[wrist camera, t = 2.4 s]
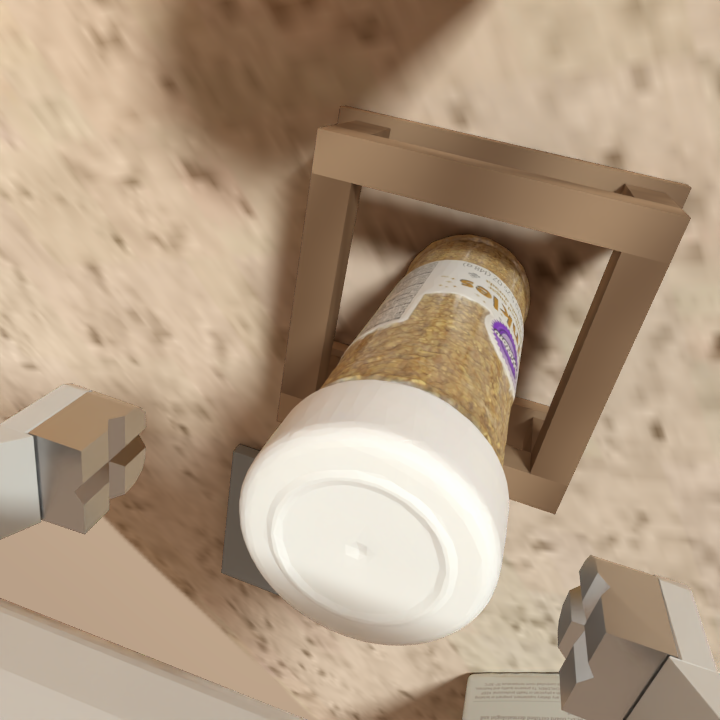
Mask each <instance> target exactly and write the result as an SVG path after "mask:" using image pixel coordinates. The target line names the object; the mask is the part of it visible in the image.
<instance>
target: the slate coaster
mask: <svg viewBox="0 0 720 720" xmlns="http://www.w3.org/2000/svg"><path fill="white" fill-rule="evenodd" d="M259 452H260V451H258V450H255V449H252V448H249V447H246V446H244V445H241V444H239V445H238V446H237V448H236V449H235V450H234V451H233V460H232V470H231V480H230V490H229V500H228V510H227V520H226V530H225V540H224V550H223V560H222V570H221V573H223V574H226V575H228V576H231V577H233V578H236V579H238V580H241V581H244V582H246V583H249V584H251V585H254V586H256V587H259V588H261V589H264V590H267V591H269V592H272V593H274V594H277V595H279V594H278V593H277V592H276V591H275V590H274V589H273V588H272V587H271V586H270V585H269V583H268V582H267V581H266V580H265V579H264V577H263V576H262V574H261V573H260V571H259V570H258V569H257V567H256V565H255V563H254V561H253V560H252V558H251V556H250V553H249V551H248V549H247V546H246V544H245V541H244V539H243V535H242V531H241V527H240V514H239V500H240V494H241V488H242V484H243V482H244V479H245V476H246V474H247V471H248V469H249V468H250V466H251V464H252V463H253V461H254V459H255V458H256V456H257V455H258V454H259ZM279 596H280V595H279Z"/></svg>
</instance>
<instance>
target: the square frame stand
mask: <svg viewBox="0 0 720 720" xmlns="http://www.w3.org/2000/svg"><path fill="white" fill-rule="evenodd" d="M362 186H365V187H369V188H373V189H377V190H381V191H385V192H388V193H392V194H396V195H400V196H404V197H408V198H412V199H416V200H420V201H424V202H428V203H432V204H436V205H439V206H443V207H447V208H451V209H455V210H459V211H463V212H467V213H471V214H475V215H479V216H483V217H487V218H490V219H494V220H498V221H502V222H506V223H510V224H514V225H518V226H522V227H526V228H530V229H534V230H538V231H541V232H545V233H549V234H553V235H557V236H561V237H565V238H569V239H573V240H577V241H581V242H585V243H589V244H592V245H596V246H600V247H604V248H608V249H612V250H613V252H612V255H611V257H610V260H609V262H608V264H607V267H606V269H605V272H604V274H603V277H602V279H601V282H600V284H599V287H598V289H597V292H596V294H595V297H594V299H593V301H592V304H591V306H590V309H589V311H588V314H587V316H586V319H585V321H584V324H583V326H582V329H581V331H580V334H579V336H578V339H577V341H576V343H575V346H574V348H573V351H572V353H571V356H570V358H569V361H568V363H567V366H566V368H565V371H564V373H563V376H562V378H561V380H560V383H559V385H558V388H557V390H556V393H555V395H554V398H553V400H552V403H551V405H550V407H549V406H546V405H542V404H539V403H536V402H533V401H529V400H526V399H523V398H519V397H516V396H515V398H514V402H513V404H512V406H511V410H510V415H509V422H508V432H507V440H506V445H505V455H504V462H503V471H504V474H505V477H506V481H507V486H508V493H509V499H511V500H514V501H517V502H520V503H523V504H526V505H529V506H532V507H535V508H538V509H541V510H544V511H547V512H550V513H553V514H555V513H556V511H557V509H558V507H559V505H560V502H561V500H562V498H563V496H564V494H565V491H566V489H567V487H568V485H569V483H570V481H571V478H572V476H573V474H574V472H575V470H576V467H577V465H578V463H579V461H580V459H581V457H582V454H583V452H584V450H585V448H586V446H587V443H588V441H589V439H590V437H591V435H592V433H593V430H594V428H595V426H596V424H597V422H598V419H599V417H600V415H601V413H602V411H603V409H604V406H605V404H606V402H607V400H608V398H609V395H610V393H611V391H612V389H613V387H614V385H615V382H616V380H617V378H618V376H619V374H620V371H621V369H622V367H623V365H624V363H625V361H626V358H627V356H628V354H629V352H630V350H631V347H632V345H633V343H634V341H635V339H636V337H637V334H638V332H639V330H640V328H641V326H642V324H643V321H644V319H645V317H646V315H647V313H648V310H649V308H650V306H651V304H652V302H653V300H654V297H655V295H656V293H657V291H658V289H659V286H660V284H661V282H662V280H663V278H664V276H665V273H666V271H667V269H668V267H669V265H670V262H671V260H672V258H673V256H674V254H675V252H676V249H677V247H678V245H679V243H680V241H681V238H682V236H683V234H684V232H685V230H686V228H687V225H688V223H689V221H690V219H691V218H690V217H689V216H688V215H687V214H686V213H685V212H684V211H683V210H682V208H683V206H684V204H685V201H686V199H687V197H688V195H689V192H690V190H691V187H690V186H688V185H686V184H682V183H678V182H673V181H669V180H665V179H660V178H656V177H652V176H647V175H643V174H639V173H634V172H630V171H626V170H621V169H617V168H613V167H609V166H604V165H600V164H596V163H591V162H587V161H583V160H578V159H574V158H570V157H565V156H561V155H557V154H552V153H548V152H544V151H539V150H535V149H531V148H526V147H522V146H518V145H514V144H509V143H505V142H501V141H496V140H492V139H488V138H483V137H479V136H475V135H470V134H466V133H462V132H457V131H453V130H449V129H444V128H440V127H436V126H431V125H427V124H423V123H418V122H414V121H410V120H406V119H401V118H397V117H393V116H388V115H384V114H380V113H375V112H371V111H367V110H362V109H358V108H354V107H349V106H340V110H339V117H338V123H337V124H335V125H331V126H326V127H321V128H318V129H317V136H316V144H315V151H314V158H313V165H312V172H311V179H310V186H309V194H308V201H307V208H306V215H305V222H304V229H303V236H302V243H301V251H300V258H299V265H298V272H297V279H296V286H295V293H294V301H293V308H292V315H291V322H290V329H289V336H288V343H287V351H286V358H285V365H284V372H283V379H282V386H281V393H280V400H279V408H278V415H277V421H278V422H281V423H282V422H283V420H284V419H285V418H286V417H287V415H288V414H289V413H290V412H291V410H292V409H293V408H294V407H295V406H296V405H298V404H299V403H300V402H301V401H302V400H304V399H305V398H306V397H308V396H309V395H311V394H312V393H314V392H316V391H318V390H319V389H320V388H321V387H322V386H323V384H324V383H325V381H326V380H327V379H328V377H329V376H330V375H331V373H332V372H333V370H334V369H335V368H336V367H337V365H338V363H339V361H340V359H341V357H342V356H343V354H344V353H345V351H346V350H347V349H348V347H349V345H346V344H342V343H339V342H336V341H334V335H335V330H336V324H337V319H338V313H339V308H340V302H341V297H342V291H343V286H344V280H345V275H346V269H347V264H348V258H349V253H350V247H351V242H352V236H353V231H354V225H355V220H356V214H357V209H358V203H359V198H360V192H361V187H362ZM508 445H509V446H508ZM511 446H512V447H511ZM515 447H516V448H515ZM518 448H519V449H518ZM521 449H522V450H521Z"/></svg>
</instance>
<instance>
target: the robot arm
mask: <svg viewBox="0 0 720 720" xmlns="http://www.w3.org/2000/svg"><path fill="white" fill-rule="evenodd" d="M145 428H146V412H145V411H144V410H143V409H142V408H141V407H138V406H135V405H133V404H130V403H127V402H124V401H121V400H118V399H116V398H113V397H110V396H107V395H104V394H102V393H99V392H96V391H92V390H89V389H86V388H83V387H80V386H78V385H75V384H63V385H61V386H60V387H58V388H56V389H55V390H53V391H52V392H50V393H48V394H47V395H45V396H44V397H42V398H40V399H39V400H37V401H36V402H34V403H33V404H31V405H29V406H28V407H26V408H25V409H23V410H21V411H20V412H18V413H17V414H15V415H14V416H12V417H10V418H9V419H7V420H6V421H4V422H2V423H1V424H0V539H3V538H5V537H7V536H10V535H12V534H15V533H17V532H19V531H22V530H24V529H26V528H29V527H31V526H33V525H36V524H38V523H40V522H41V520H44V521H47V522H50V523H53V524H56V525H59V526H62V527H65V528H68V529H71V530H73V531H76V532H79V533H82V534H86V533H87V532H88V531H89V530H90V529H91V528H92V527H93V525H94V524H95V523H97V522H98V521H99V520H100V519H101V518H102V517H103V516H104V515H105V514H106V513H107V512H108V511H109V499H112V498H115V497H118V496H121V495H124V494H126V492H127V491H128V490H129V489H130V488H131V487H132V486H133V485H134V484H135V482H136V480H137V479H138V477H139V475H140V473H141V471H142V469H143V465H144V461H145V454H146V447H145V445H144V443H143V441H142V440H141V438H140V436H139V434H140V433H141V432H142V431H143V430H144V429H145ZM579 573H580V585H581V586H578V587H576V588H574V589H572V590H570V591H569V593H568V595H567V597H566V599H565V602H564V604H563V607H562V611H561V614H560V618H559V625H558V648H559V649H560V651H561V652H562V654H563V655H564V657H565V658H566V660H565V662H564V663H563V665H562V667H561V669H560V671H559V677H560V695H561V710H562V711H565V712H567V713H570V714H572V715H575V716H577V717H580V718H582V719H585V720H720V673H718V670H717V667H716V664H715V661H714V658H713V655H712V652H711V649H710V646H709V643H708V640H707V637H706V634H705V631H704V627H703V624H702V621H701V618H700V615H699V612H698V609H697V606H696V603H695V600H694V597H693V594H692V591H691V589H690V588H689V587H688V586H687V585H686V584H684V583H681V582H677V581H674V580H671V579H667V578H664V577H661V576H657V575H651V574H648V573H645V572H642V571H639V570H636V569H633V568H630V567H626V566H623V565H620V564H617V563H614V562H611V561H608V560H605V559H602V558H598V557H595V556H592V555H590V556H589V557H588V558H587V559H586V560H585V562H584V564H583V566H582V567H581V569H580V571H579ZM0 720H307V719H304V718H302V717H299V716H297V715H294V714H291V713H289V712H286V711H284V710H281V709H279V708H276V707H274V706H271V705H269V704H266V703H264V702H261V701H259V700H256V699H254V698H251V697H249V696H246V695H244V694H241V693H239V692H236V691H234V690H231V689H228V688H226V687H223V686H221V685H218V684H216V683H213V682H211V681H208V680H206V679H203V678H201V677H198V676H195V675H193V674H191V673H188V672H186V671H183V670H181V669H178V668H176V667H173V666H171V665H168V664H165V663H163V662H160V661H158V660H155V659H153V658H150V657H148V656H145V655H143V654H140V653H138V652H135V651H133V650H130V649H128V648H125V647H123V646H120V645H118V644H115V643H113V642H110V641H108V640H105V639H102V638H100V637H97V636H95V635H92V634H90V633H87V632H85V631H82V630H80V629H77V628H75V627H72V626H70V625H67V624H65V623H62V622H60V621H57V620H55V619H52V618H50V617H47V616H44V615H42V614H39V613H37V612H34V611H32V610H29V609H27V608H24V607H22V606H19V605H17V604H14V603H12V602H9V601H7V600H4V599H2V598H0Z"/></svg>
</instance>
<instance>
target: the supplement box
mask: <svg viewBox="0 0 720 720" xmlns="http://www.w3.org/2000/svg"><path fill="white" fill-rule="evenodd" d="M462 720H585V719H582V718H580V717H577V716H575V715H572V714H570V713H567V712H565V711H562V710H561V695H560V677H559V674H540V673H518V674H514V673H502V674H498V673H482V674H471V675H470V676H469V677H468V681H467V687H466V695H465V702H464V709H463V716H462Z"/></svg>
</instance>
